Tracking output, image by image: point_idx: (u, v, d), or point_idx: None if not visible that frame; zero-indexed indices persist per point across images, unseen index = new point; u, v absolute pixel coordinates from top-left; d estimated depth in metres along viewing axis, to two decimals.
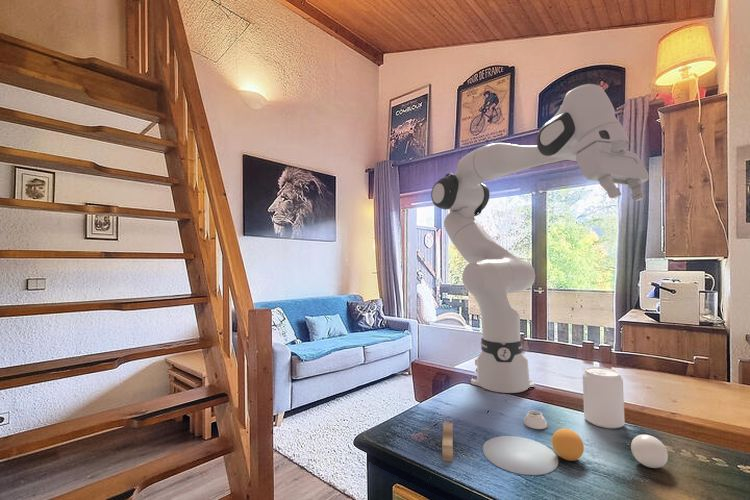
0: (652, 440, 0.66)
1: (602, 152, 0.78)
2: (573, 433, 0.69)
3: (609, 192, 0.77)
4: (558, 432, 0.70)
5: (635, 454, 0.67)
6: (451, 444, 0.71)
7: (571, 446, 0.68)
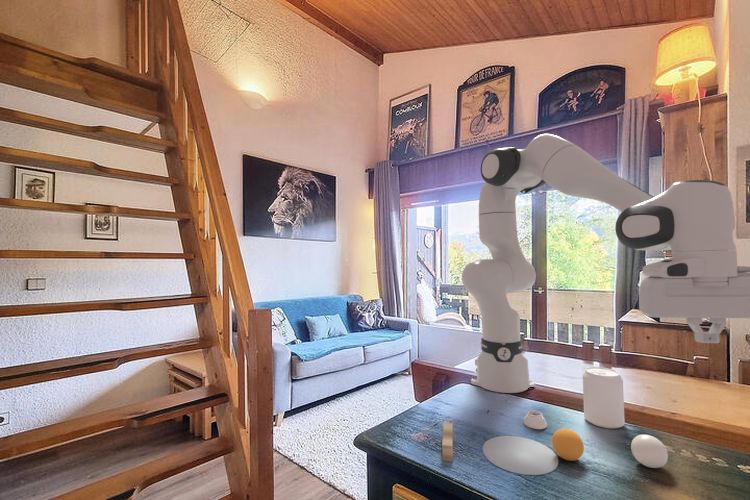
0: (652, 440, 0.66)
1: (672, 288, 0.66)
2: (573, 433, 0.69)
3: (695, 334, 0.66)
4: (558, 432, 0.70)
5: (635, 454, 0.67)
6: (451, 444, 0.71)
7: (571, 446, 0.68)
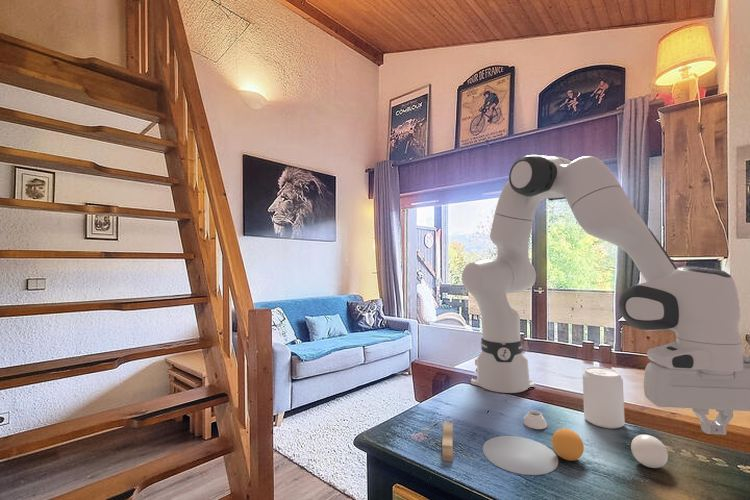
0: (652, 440, 0.66)
1: (677, 378, 0.65)
2: (573, 433, 0.69)
3: (702, 423, 0.66)
4: (558, 432, 0.70)
5: (635, 454, 0.67)
6: (451, 444, 0.71)
7: (571, 446, 0.68)
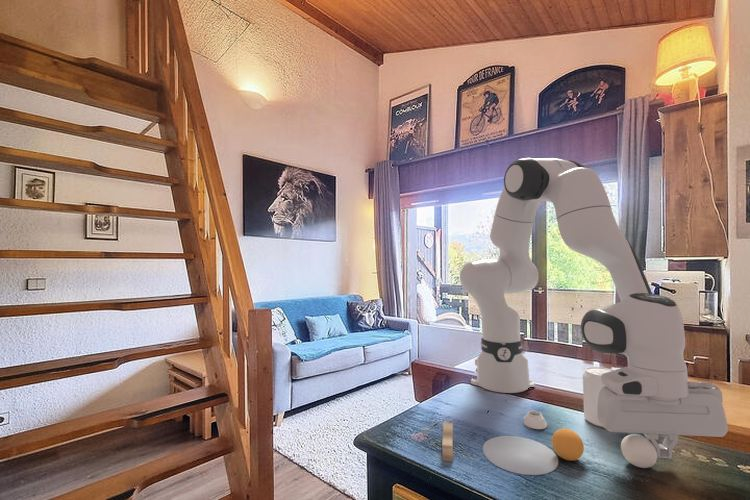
0: (636, 441, 0.66)
1: (628, 403, 0.67)
2: (573, 433, 0.69)
3: None
4: (558, 432, 0.70)
5: None
6: (451, 444, 0.71)
7: (571, 446, 0.68)
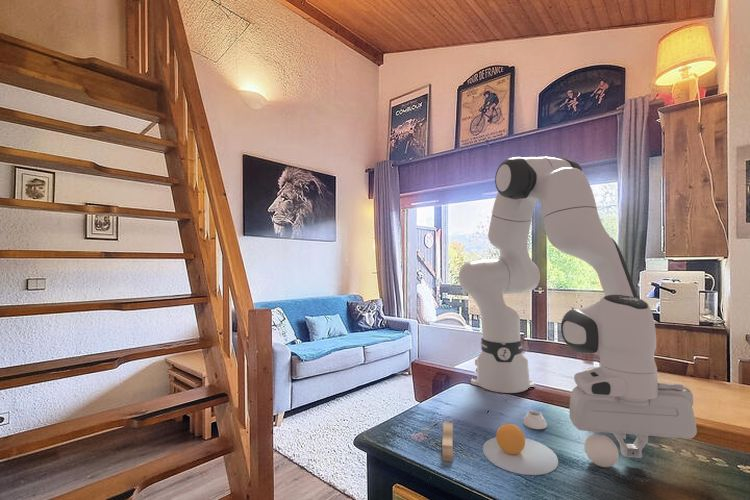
0: (598, 465, 0.67)
1: (597, 403, 0.68)
2: None
3: (621, 446, 0.69)
4: None
5: None
6: (451, 444, 0.71)
7: (514, 449, 0.70)
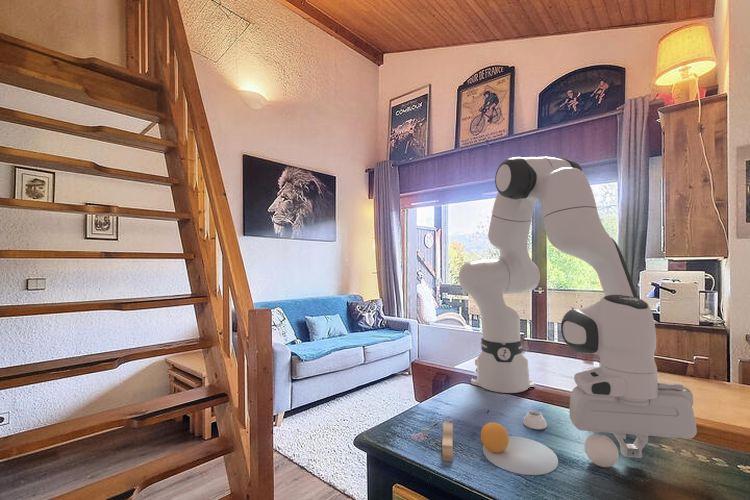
0: (598, 465, 0.67)
1: (597, 403, 0.68)
2: (508, 442, 0.72)
3: (621, 446, 0.69)
4: (503, 428, 0.73)
5: None
6: (451, 444, 0.71)
7: (500, 443, 0.71)
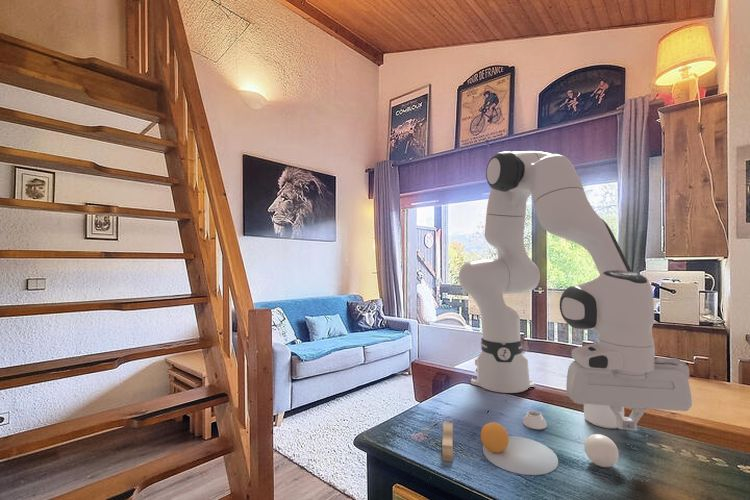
0: (598, 465, 0.67)
1: (594, 377, 0.68)
2: (508, 442, 0.72)
3: (616, 419, 0.69)
4: (503, 428, 0.73)
5: None
6: (451, 444, 0.71)
7: (500, 443, 0.71)
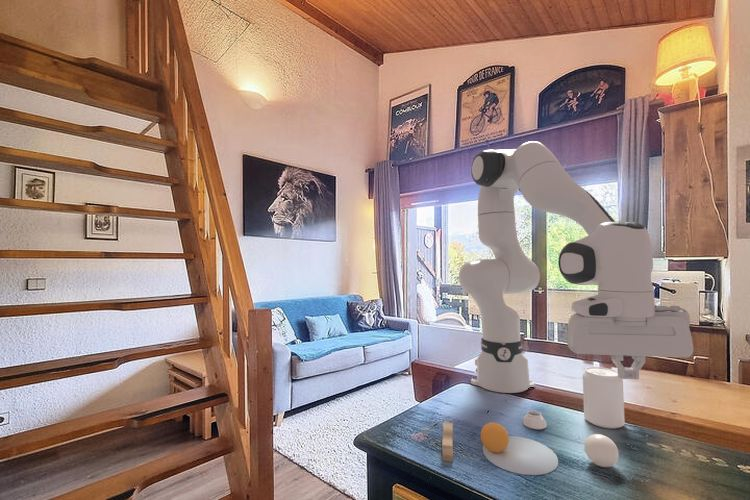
0: (598, 465, 0.67)
1: (595, 326, 0.68)
2: (508, 442, 0.72)
3: (618, 370, 0.69)
4: (503, 428, 0.73)
5: None
6: (451, 444, 0.71)
7: (500, 443, 0.71)
